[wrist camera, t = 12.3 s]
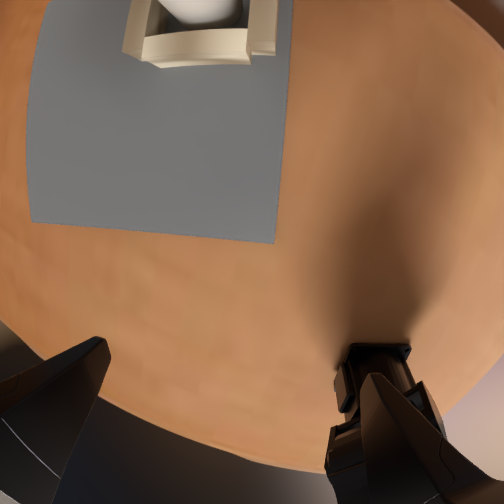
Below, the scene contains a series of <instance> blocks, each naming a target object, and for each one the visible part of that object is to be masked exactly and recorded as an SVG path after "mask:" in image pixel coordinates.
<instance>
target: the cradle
mask: <svg viewBox="0 0 504 504" xmlns="http://www.w3.org/2000/svg"><path fill="white" fill-rule="evenodd" d="M168 14H169V11H168V10H167V9H166V8H165V7H164V6H163V5H162V4H161V3H160V2H159V1H158V0H132V2H131V6H130V10H129V15H128V20H127V25H126V30H125V35H124V41H123V47H122V52H124V53H126V54H128V55H130V56H132V57H134V58H137V59H139V60H141V61H148V62H150V63H152V64H154V65H155V66H157V67H159V68H167V67H178V66H192V65H216V64H244V65H251V62H252V55H269V56H276V44H277V30H278V15H279V0H250V10H249V20H248V29H208V30H195V31H184V32H176V33H168V34H165V32H166V26H167V20H168Z"/></svg>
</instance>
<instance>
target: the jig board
mask: <svg viewBox="0 0 504 504" xmlns="http://www.w3.org/2000/svg"><path fill="white" fill-rule="evenodd" d="M131 2H132V0H53V1H51V2H49V3H48V5H47V8H46V11H45V14H44V18H43V21H42V25H41V29H40V33H39V37H38V41H37V46H36V50H35V55H34V61H33V67H32V73H31V80H30V88H29V97H28V108H27V126H26V166H27V184H28V195H29V205H30V213H31V221H32V222H35V223H47V224H60V225H72V226H85V227H97V228H108V229H120V230H131V231H143V232H154V233H165V234H176V235H186V236H197V237H207V238H218V239H228V240H238V241H248V242H258V243H268V244H274V239H275V230H276V220H277V210H278V199H279V189H280V178H281V167H282V155H283V143H284V131H285V119H286V106H287V92H288V78H289V63H290V47H291V30H292V11H293V0H279V15H278V30H277V44H276V56H269V55H252V62H251V65H244V64H216V65H192V66H178V67H167V68H159V67H157V66H155V65H154V64H152V63H150V62H148V61H141V60H139V59H137V58H134V57H132V56H130V55H128V54H126V53H124V52H122V47H123V41H124V35H125V30H126V25H127V20H128V15H129V10H130V6H131ZM242 2H243V11H242V14H241V16H240V18H239V19H238V21H237V22H236V23H235V24H234V25H232V26H231V27H230V28H228V29H248V20H249V10H250V0H242ZM184 31H189V30H187V29H186V28H185V27H184V26H183V25H182V24H181V23H180V22H179V21H178V20H177V19H176V18H175V17H174V16H173V15H172V14H171V13H170V12H169V14H168V20H167V26H166V32H165V34H168V33H176V32H184Z"/></svg>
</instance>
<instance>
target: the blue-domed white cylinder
mask: <svg viewBox="0 0 504 504" xmlns="http://www.w3.org/2000/svg"><path fill="white" fill-rule="evenodd" d="M158 1H159V2H160V3H161V4H162V5H163V6H164V7H165V8H166V9H167V10H168V11H169V12H170V13H171V14H172V15H173V16H174V17H175V18H176V19H177V20H178V21H179V22H180V23H181V24H182V25H183V26H184V27H185V28H186V29H187V30H189V31H195V30H208V29H228V28H230V27H231V26H232V25H234V24H235V23H236V22H237V21H238V19H239V18H240V16H241V14H242V11H243V2H242V0H158Z"/></svg>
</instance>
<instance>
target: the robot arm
mask: <svg viewBox="0 0 504 504" xmlns="http://www.w3.org/2000/svg"><path fill="white" fill-rule="evenodd" d="M354 348H356V349H354ZM353 349H354V350H353ZM405 349H406V350H405ZM411 349H412V348H411V346H410V344H364V343H354V344H351V345H350V346H349V349H348V351H347V354H346V357H345V360H344V362H342V363H341V364H340V367H339V370H338V372H337V375H336V377H335V380H334V383H335V386H334V391H335V392H336V397H337V403H338V411H339V412H340V413H344V414H345V421H346V422H345V423H343V424H340V425H336V426H333V427H331V430H330V436H329V442H328V447H327V453H326V458H325V465H324V468H325V470H326V474H327V477H328V479H329V481H330V483H331V484H332V486H333V488H334V491H335V494H336V498H337V503H338V504H504V481H500V480H496V479H493V478H491V477H490V476H488V475H487V474H485V473H484V472H483V471H482V470H480V469H479V468H478V467H477V466H475V465H474V464H473V463H472V462H470V461H469V460H468V459H467V458H466V457H464V456H463V455H462V454H461V453H459V451H458V450H457V449H455V448H454V447H453V446H452V445H451V444H450V443H449V442H448V441H447V436H446V432H445V428H444V424H443V420H442V418H441V415H440V413H439V411H438V408H437V406H436V404H435V402H434V400H433V398H432V396H431V395H430V393H429V391H428V390H427V388H426V386H425V385H424V383H423V381H420V382H418V383H417V385H416V383H415V381H414V378H413V376H412V374H411V371H410V369H409V367H408V365H407V362H406V360H407V358H408V356H409V354H410V352H411ZM110 361H111V354H110V350H109V347H108V344H107V341H106V339H104V338H102V337H98V336H94V337H92V338H90V339H88V340H86V341H84V342H82V343H80V344H78V345H76V346H74V347H72V348H70V349H68V350H66V351H64V352H62V353H60V354H58V355H56V356H54V357H52V358H50V359H48V360H46V361H44V362H42V363H40V364H38V365H35V366H33V367H31V368H29V369H27V370H25V371H23V372H22V373H19V374H17V375H15V376H13V377H11V378H9V379H6V380H4V381H2V382H0V504H52V501H53V498H54V496H55V492H56V490H57V488H58V485H59V482H60V479H61V477H62V474H63V472H64V469H65V466H66V464H67V462H68V459H69V457H70V455H71V452H72V450H73V448H74V445H75V443H76V441H77V439H78V436H79V434H80V432H81V429H82V427H83V425H84V423H85V421H86V419H87V417H88V415H89V412H90V410H91V408H92V406H93V404H94V402H95V400H96V398H97V396H98V393H99V391H100V388H101V385H102V383H103V380H104V377H105V374H106V372H107V369H108V367H109V364H110Z"/></svg>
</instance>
